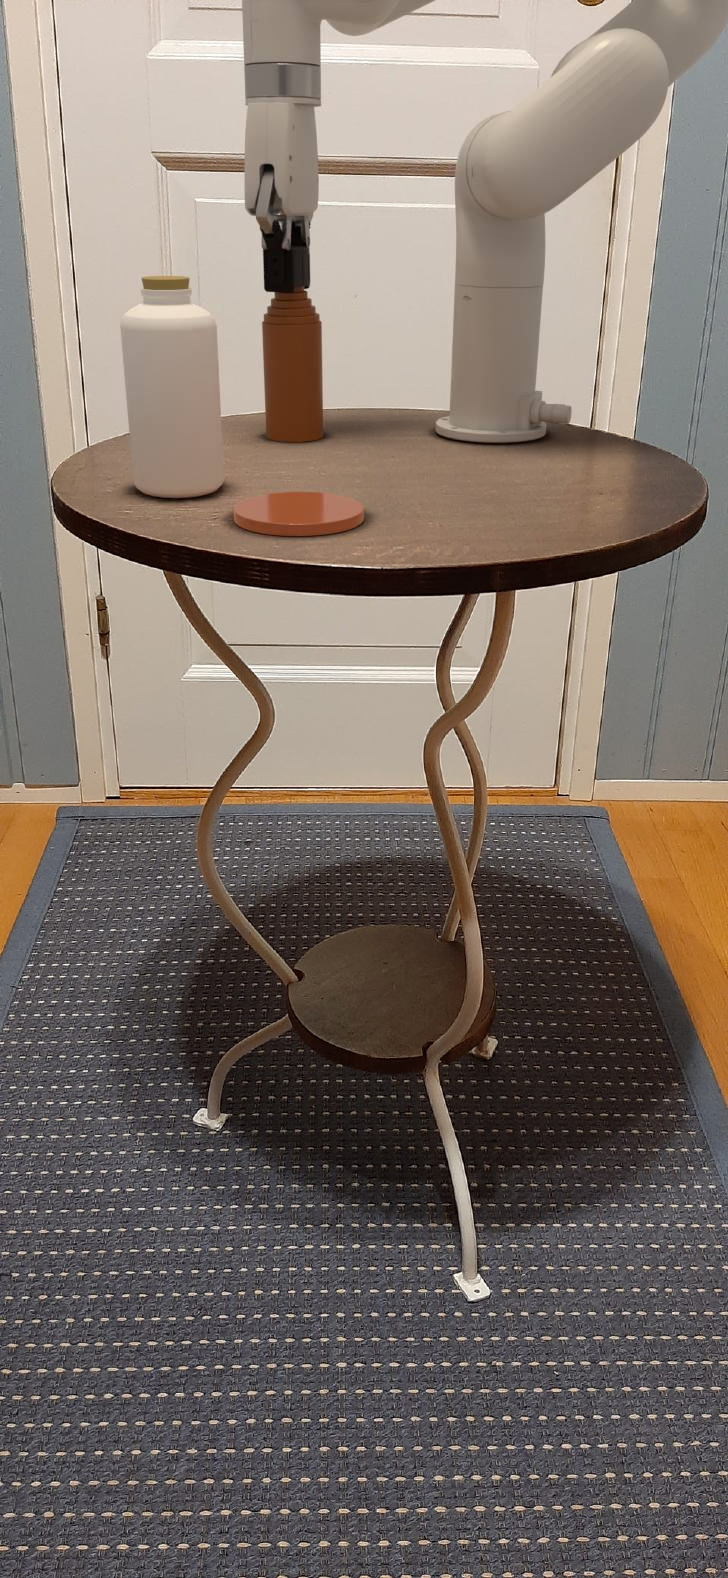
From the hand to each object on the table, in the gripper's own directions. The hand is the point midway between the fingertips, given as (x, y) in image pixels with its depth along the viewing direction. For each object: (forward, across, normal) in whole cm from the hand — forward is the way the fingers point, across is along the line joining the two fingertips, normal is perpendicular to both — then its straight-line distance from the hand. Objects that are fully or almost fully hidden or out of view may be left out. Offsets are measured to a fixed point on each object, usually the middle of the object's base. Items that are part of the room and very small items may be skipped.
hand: (287, 288), depth 122 cm
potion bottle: (+15, +27, -1) cm, 31 cm away
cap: (0, 0, 0) cm, 1 cm away
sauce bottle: (+15, 0, 0) cm, 15 cm away
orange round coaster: (+15, +33, +13) cm, 39 cm away
